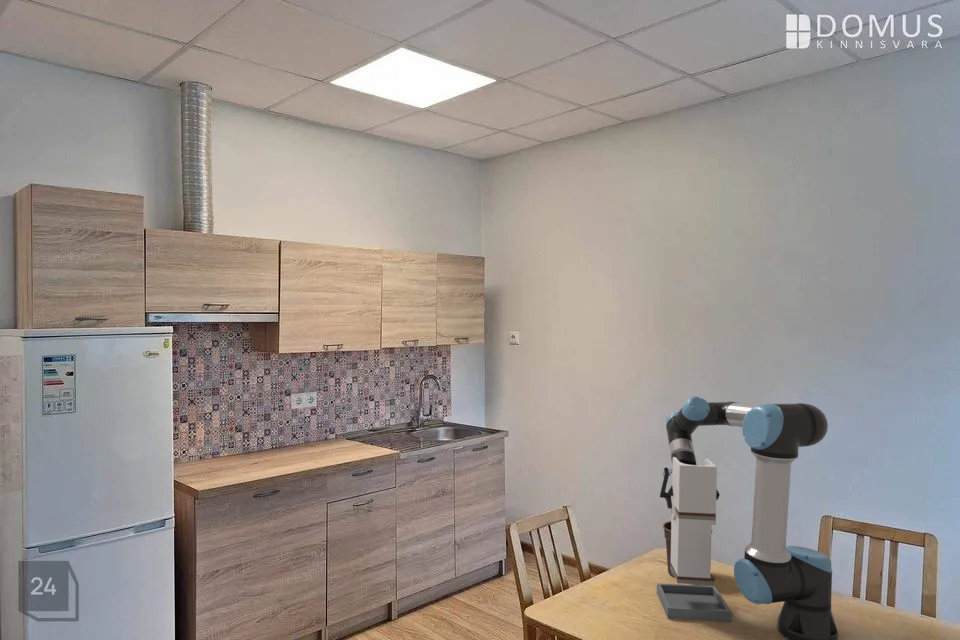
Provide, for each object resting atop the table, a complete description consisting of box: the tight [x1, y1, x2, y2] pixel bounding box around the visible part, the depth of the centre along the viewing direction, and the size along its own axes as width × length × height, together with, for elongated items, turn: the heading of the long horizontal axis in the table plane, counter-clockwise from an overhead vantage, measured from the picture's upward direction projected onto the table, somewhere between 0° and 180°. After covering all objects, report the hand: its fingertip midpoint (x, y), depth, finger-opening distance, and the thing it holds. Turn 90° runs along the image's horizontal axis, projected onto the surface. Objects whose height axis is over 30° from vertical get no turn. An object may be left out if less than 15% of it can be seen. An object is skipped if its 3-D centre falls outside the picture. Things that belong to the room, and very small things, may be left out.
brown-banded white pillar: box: [670, 457, 718, 586], centre depth 198 cm, size 11×11×35 cm
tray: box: [656, 583, 732, 623], centre depth 198 cm, size 18×18×3 cm
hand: (693, 518), depth 197 cm, fingers closed on brown-banded white pillar, 10 cm apart
